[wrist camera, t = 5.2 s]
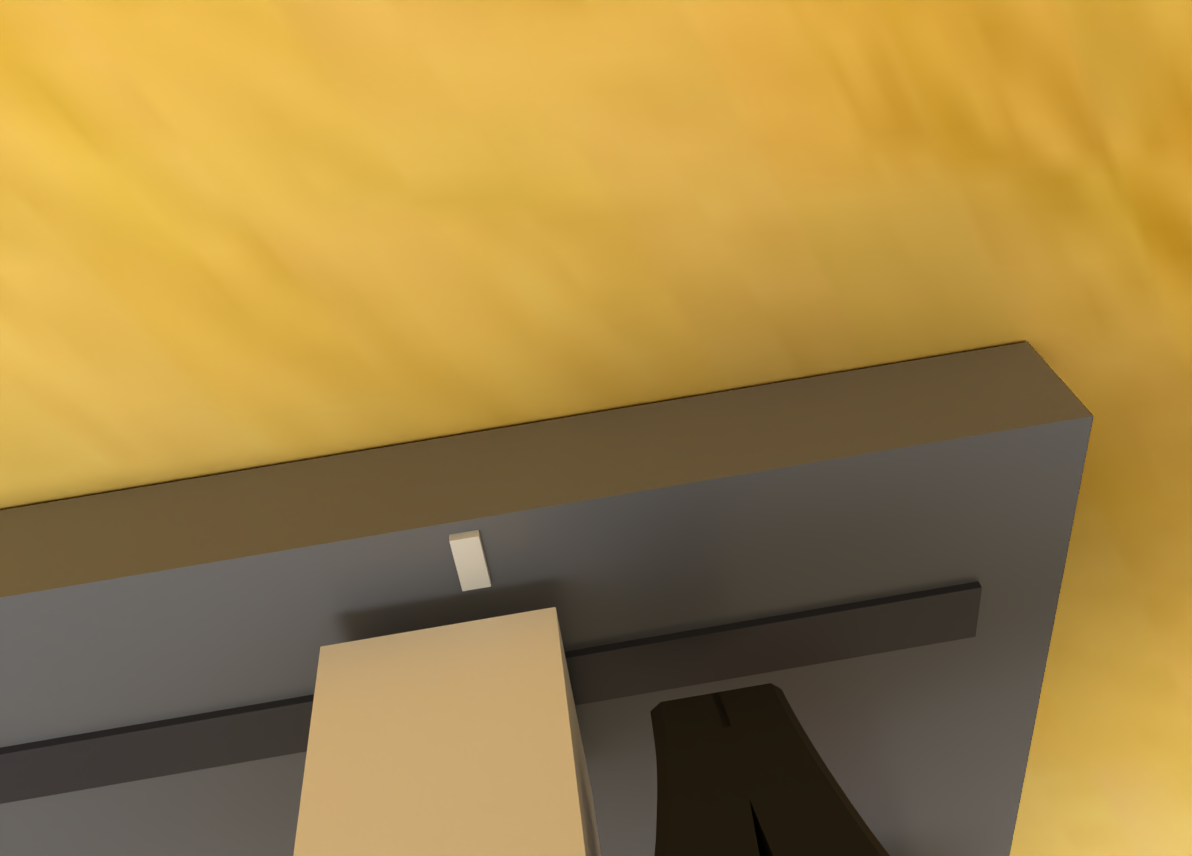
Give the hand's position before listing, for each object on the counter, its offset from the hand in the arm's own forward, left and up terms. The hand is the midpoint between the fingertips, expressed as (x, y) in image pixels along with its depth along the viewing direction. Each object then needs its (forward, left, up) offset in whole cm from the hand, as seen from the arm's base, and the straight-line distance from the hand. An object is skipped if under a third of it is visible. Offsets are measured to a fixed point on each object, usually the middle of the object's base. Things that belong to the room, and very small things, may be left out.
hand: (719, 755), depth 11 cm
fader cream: (-3, 0, -1) cm, 3 cm away
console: (-3, -4, -3) cm, 6 cm away
